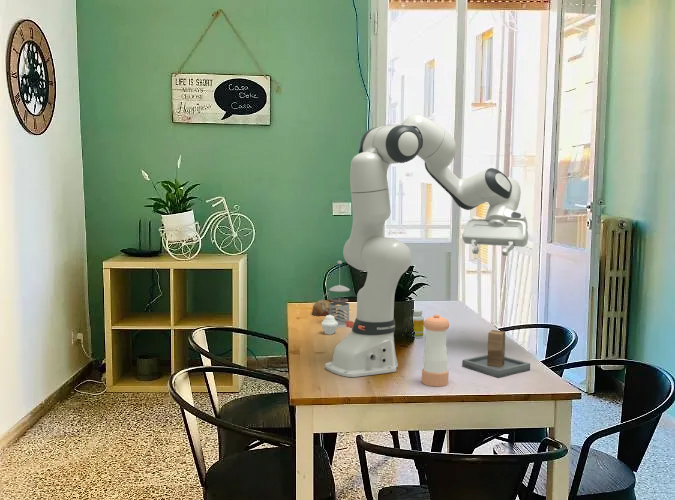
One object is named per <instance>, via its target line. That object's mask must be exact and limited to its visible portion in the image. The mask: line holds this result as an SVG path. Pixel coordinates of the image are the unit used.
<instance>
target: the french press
mask: <svg viewBox="0 0 675 500" xmlns="http://www.w3.org/2000/svg"><path fill="white" fill-rule="evenodd" d="M336 264H337V265H338V264H339V269H338V271H339V273H338V274H339V275H338V276H339V278H338V279H339V280H338V281H339V282H338V285H334V286H332V287H330V288H329V289H328V290H329V292H326V293H325V294H324V295H323V296H322V299H321V300H322V306H324V304H323V300H325V299H324V298H325V297H326V295H328V297H331V292H333V293H338V298H336V297H334V298H330V299H329V301H330V302H332V303H330V304H329V310H328V311H327V309H326V308H325V307H323V308H325V309H326V311H327V312H329V315H332V316H334V318H335V320H336V321H337V322H338V326H337V328H347V327H346V321H348V320H349V321H350V303H349V301H350V300H349V298H341V297H340V296H341V295H340V294H341V293H348V292H350V288H348V287H347V286H344V285H341V284H340V283H341V281H340V280H341V264H343V261H342V260H337V262H336ZM335 308H336V310H334V309H335ZM334 312H336V313H334Z"/></svg>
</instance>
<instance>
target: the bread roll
mask: <svg viewBox="0 0 675 500" xmlns="http://www.w3.org/2000/svg"><path fill="white" fill-rule="evenodd" d="M330 303H332V302H331V301H330V300H326V299H323V304H324V306H322V299H320V300H318V301H316V302H315V303H314V304H313V306H312V310H311V315H314V316H315V315H316V316H315V317H319V316H327V315H329V312H327V311H328V310H329V304H330ZM323 307H325V308H326V309H327V311H326V309H325V308H323ZM334 310H337V309H336V308H335V309H334ZM334 313H337V312H334Z"/></svg>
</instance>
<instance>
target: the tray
mask: <svg viewBox="0 0 675 500" xmlns="http://www.w3.org/2000/svg"><path fill="white" fill-rule="evenodd" d="M487 358H488V354H483V355H479V356H474V357H470V358H466V359H465V358H464V359H462V362H461V363H462V364H461V366H462V367H464V368H466V369H468V370H469V369H470V370H472V371H475V372H478V373H482V374H484V375H488V376H491V377H494V378H497V379H499V378H503V377H507V376H512V375H515V374H520V373H523V372H527V371H531V363H529V362H526V361H522V360H519V359H516V358H512V357H509V356H505V358H504V365H503V366H502V367H501V368H500V367H493V366H487Z"/></svg>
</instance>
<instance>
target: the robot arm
mask: <svg viewBox="0 0 675 500" xmlns="http://www.w3.org/2000/svg"><path fill="white" fill-rule="evenodd" d="M456 152H457V143H456V140H455V138H454V136H453V135H452V134H451V133H450V132H449V131H448V130H446V129H444V128H443V127H442V126H440V125H439V124H438V123H437V122H434V121H433V120H431V119H430V118H428V117H426V116H423V115H421V114H411V115H410V116H407V118H405V119H404V120H403V121H402V123H401V125H382V126H376V127H371V128H370V129H368V130H367V131H366V132H365V133H363V135H362V137H361V140H360V144H359V150H358V153H357V154H356V155H354V157H353V158H352V159H351V162H350V170H349V183H350V185H349V186H350V196H351V207H352V224H351V225H352V226H351V231H350V235H349V238H348V239H347V240H346V241H345V244H344V245H343V249H342V251H343V259H344V260H345V262H346V263H347V264H348V266H349V265H350V266H351V267H353V268H355V269H357V270H358V271H363V272H366V273H367V274H366V279H365V282H364V284H363V287H362V288H360V289H359V290H358V292H357V294H356V297H357V298H356V318H355V319H354V321H351V320H350V319H349V320H348V321H346V327H345V328H349V329H351V332H350V333H349V334H347V336H345V338H344V339H342V340H341V341H340V342H339V343H338V344H337V345H336V346H335V347H334V350H333V355H332V361H328V362H326V363H325V364H324V369H326V370H327V371H329V372H330V373H333V374H336V375H339V376H343V377H347V378H357V377H365V376H373V375H380V374H381V375H382V374H389V373H395V372H397V368H398V367H399V362H398V358H397V354H396V348H395V346H396V345H395V337H394V335H395V331H396V319H395V318H394V313H395V312H394V311H395V294H396V289H397V286H398V284H399V281H400V279H401V277H402V275H404V273H406V272H407V271H408V269H409V268H410V265H411V263H412V251H411V249H410V247H409V246H408V245H407V244H405V243H404V242H402V241H400V240H398V239H395V238H392V237H386V236H385V237H384V235H383V232H384V227H385V223H386V221H388V219H389V218H390V216H391V213H392V212H391V200H390V193H389V190H390V189H389V181H388V171H389V166H390V165H391V164H394V165H395V164H399V163H400V164H403V163H408V162H410V161H411V160H413V159H414V158H416V157H419V158H421V160H422V161H424V168H425V170H426V172H427V173H428V175H429V176H430V177H431V178H432V179H433V180H434V181H435V182H436V183H437V184H438V185H439V186H440V187H441V188H443V190H444V191H446V193H448V194H449V196H450V197H451V198H452V199H453V201H454V203H455V204H456V205H457V206H458V207H459V208H461V209H463V210H464V211H465V210H466V211H470V210H473V209H475V208H477V207H478V206H480V205H483V204H485V203H488V205H489V206H488V210H487V212H486V216H485V219H484V218H483V219H482V218H481V219H478V218H477V219H476V218H472V219H471V220H467V221H466V224H465V228H464V230H463V232H462V233H461V236H462V240H463V242H464V244H467V245H472V250H471V252H472V254H473V255H474V254H475V255H476V254H477V255H478V254H479V251H480V250H479V247H478V245H484V246H502V247H503V246H505V247H503V248H502V251H501V255H502V256H503V257H504V256H506V257H507V256H509V253H510V252H511V251H513V249H514V248H515V247H517V248H518V247H519V248H520V247H521V248H522V247H523V248H524V247H526V246H527V244H528V241H529V232H528V226H529V225H528V220H527V218H526V215H525V214H524V213H521V212H518V211H517V209H518V208H519V204H520V201H521V193H522V192H521V186H520V183H519V182H518V181H517V180H516V179H515V178H513V177H509V176H507V175H505V174H504V173H503V172H502V171H500V170H498V169H497V168H493V167H490V168H487V169H485V170H482V171H480V172H478V173H476V174H474V175H471V176H470V177H468V178H459V177H458V176H456V174H455V173H453V171H451V169H450V168H449V166H450V165H451V163H452V162H453V160H454V158H455V156H456Z"/></svg>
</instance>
